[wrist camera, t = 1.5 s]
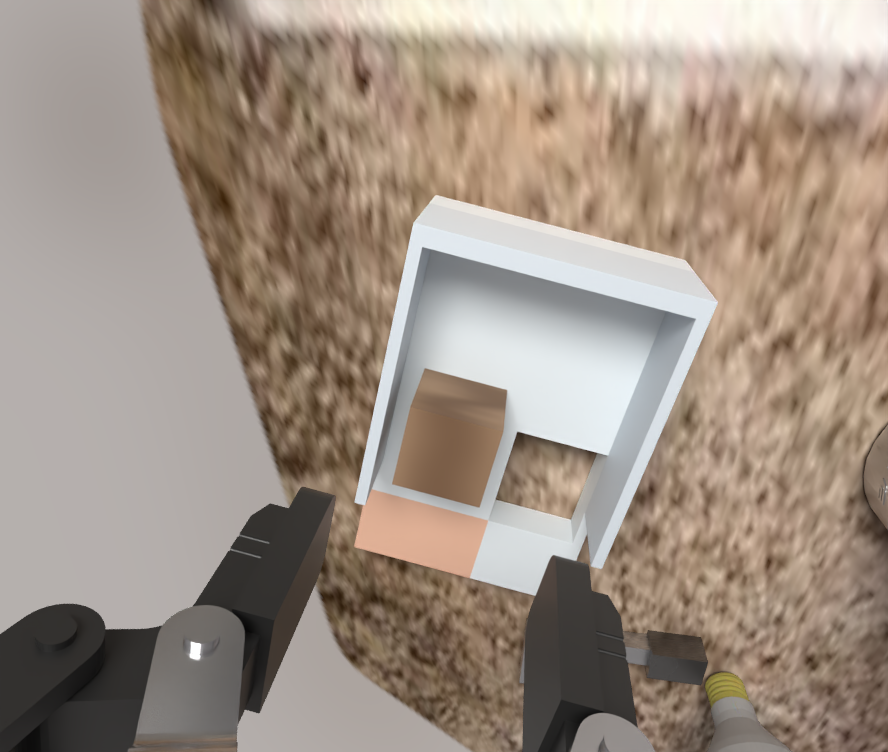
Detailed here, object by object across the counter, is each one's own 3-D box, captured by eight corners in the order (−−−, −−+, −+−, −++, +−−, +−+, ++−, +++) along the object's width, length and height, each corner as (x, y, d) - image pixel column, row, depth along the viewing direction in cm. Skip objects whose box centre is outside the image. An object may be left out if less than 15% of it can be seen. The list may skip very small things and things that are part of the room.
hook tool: (700, 637, 39) (708, 662, 37) (685, 689, 40) (691, 715, 39) (527, 613, 40) (526, 637, 38) (519, 666, 41) (519, 690, 40)
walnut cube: (507, 390, 31) (503, 431, 28) (485, 459, 33) (479, 507, 29) (424, 368, 31) (410, 406, 28) (407, 438, 33) (391, 484, 30)
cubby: (685, 259, 30) (718, 302, 24) (557, 577, 38) (561, 661, 33) (435, 195, 30) (413, 222, 25) (362, 524, 38) (334, 599, 33)
